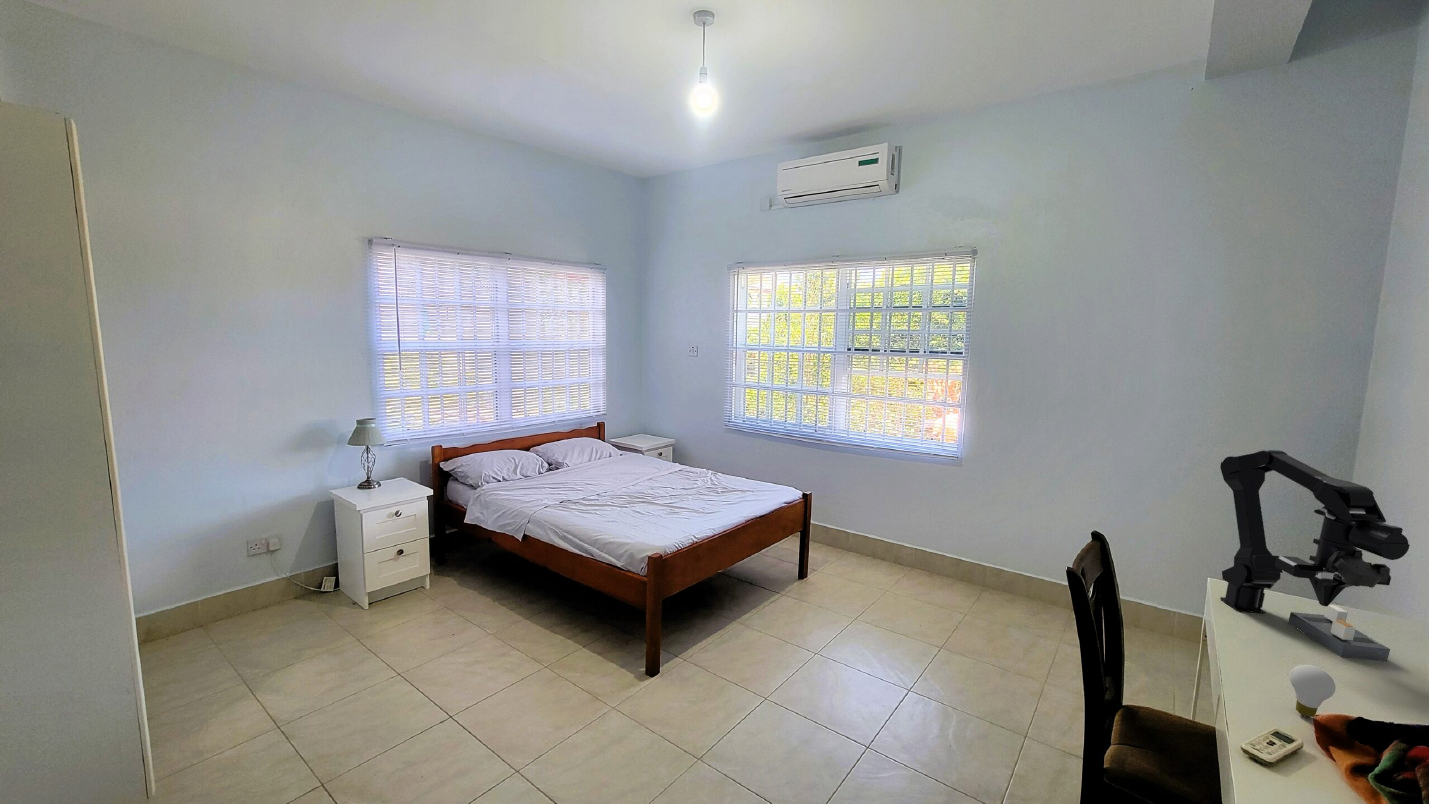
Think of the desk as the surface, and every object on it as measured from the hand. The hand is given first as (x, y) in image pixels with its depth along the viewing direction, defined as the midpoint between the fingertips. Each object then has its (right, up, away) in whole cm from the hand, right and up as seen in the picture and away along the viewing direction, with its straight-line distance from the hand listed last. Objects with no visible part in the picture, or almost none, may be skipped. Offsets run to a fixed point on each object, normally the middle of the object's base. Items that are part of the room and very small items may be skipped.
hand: (1323, 605), depth 129 cm
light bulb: (-27, -13, -22) cm, 37 cm away
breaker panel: (+7, -10, +4) cm, 13 cm away
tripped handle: (+4, -7, 0) cm, 8 cm away
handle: (+11, -6, +7) cm, 14 cm away
